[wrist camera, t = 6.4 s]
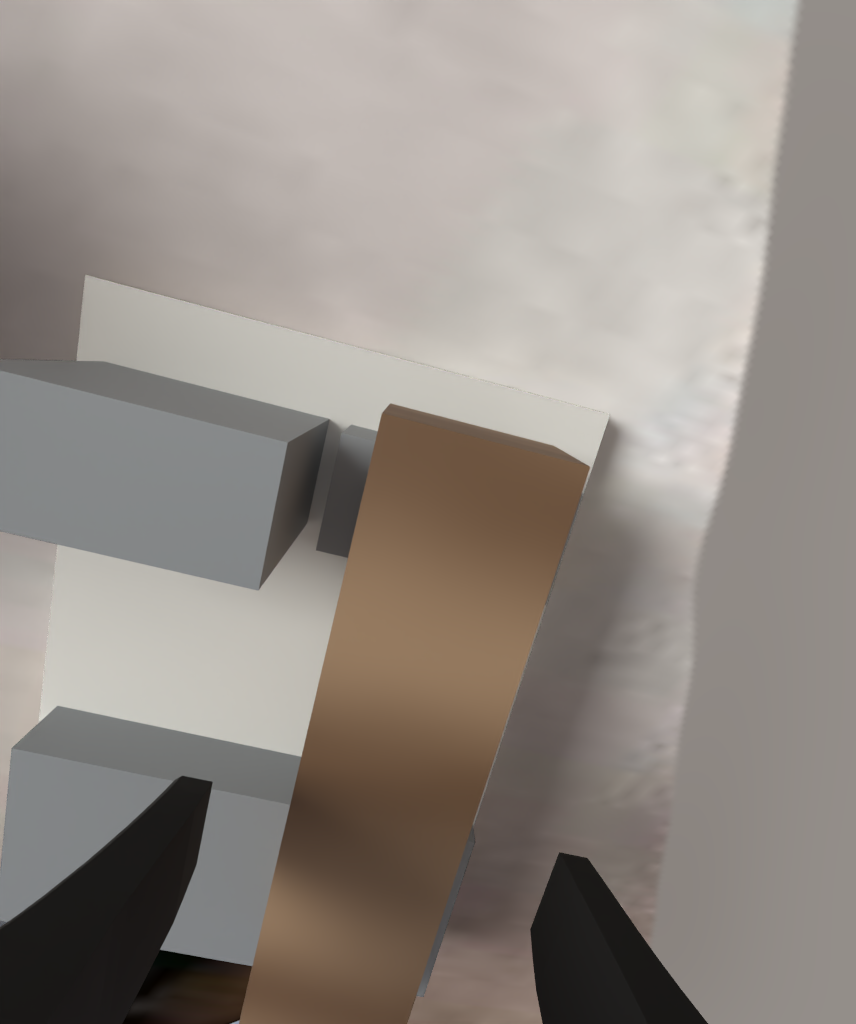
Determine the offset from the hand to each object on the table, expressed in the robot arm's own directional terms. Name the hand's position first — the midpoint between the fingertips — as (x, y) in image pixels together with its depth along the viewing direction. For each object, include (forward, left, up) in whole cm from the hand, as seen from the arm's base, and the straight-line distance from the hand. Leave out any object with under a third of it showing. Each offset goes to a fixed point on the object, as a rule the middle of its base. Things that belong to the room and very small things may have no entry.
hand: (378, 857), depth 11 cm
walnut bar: (0, 0, -4) cm, 4 cm away
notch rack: (+2, +2, -7) cm, 8 cm away
